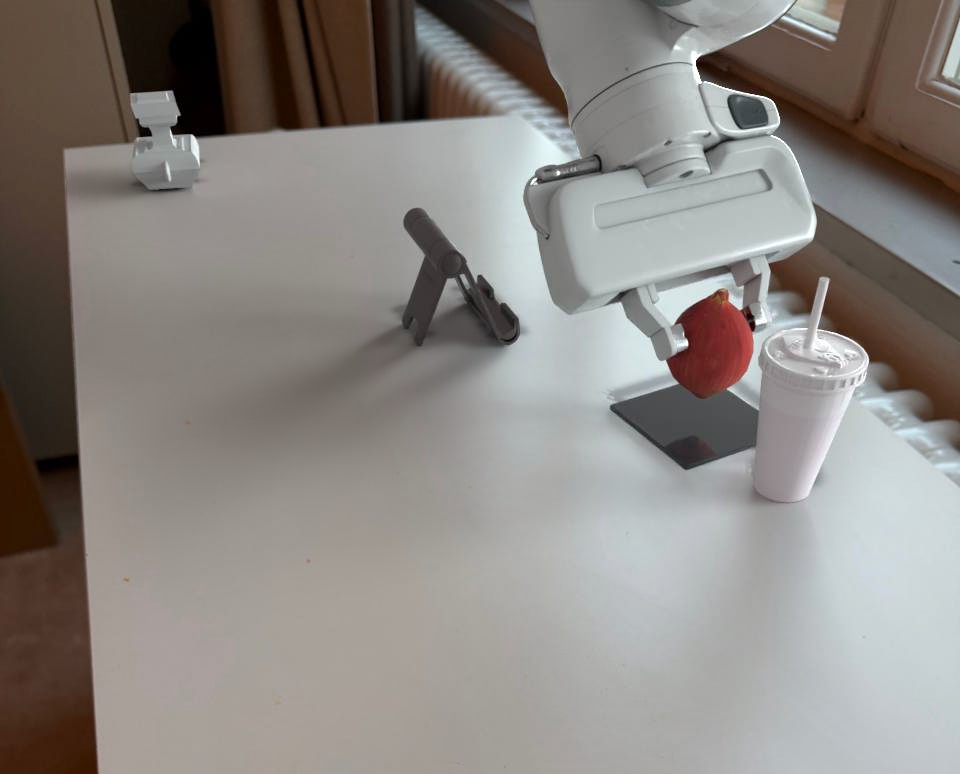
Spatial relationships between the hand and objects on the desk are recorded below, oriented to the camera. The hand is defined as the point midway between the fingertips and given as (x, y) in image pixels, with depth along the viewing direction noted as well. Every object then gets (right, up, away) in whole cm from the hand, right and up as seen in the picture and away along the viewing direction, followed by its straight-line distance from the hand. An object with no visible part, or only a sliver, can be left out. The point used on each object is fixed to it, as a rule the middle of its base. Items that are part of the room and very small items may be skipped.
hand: (717, 343), depth 69 cm
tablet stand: (-18, +5, +15) cm, 24 cm away
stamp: (-48, +27, +38) cm, 67 cm away
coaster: (0, -4, +5) cm, 6 cm away
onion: (0, -3, +4) cm, 5 cm away
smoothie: (+4, -10, -1) cm, 11 cm away
